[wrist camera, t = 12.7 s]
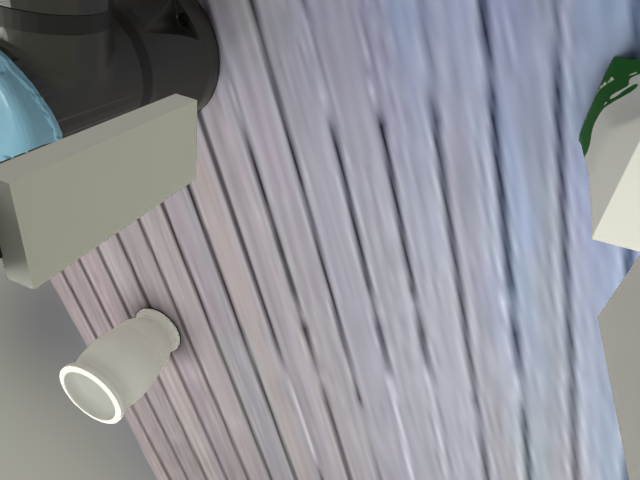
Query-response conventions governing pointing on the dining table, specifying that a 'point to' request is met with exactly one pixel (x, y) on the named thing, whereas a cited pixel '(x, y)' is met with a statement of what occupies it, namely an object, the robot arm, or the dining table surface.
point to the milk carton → (615, 155)
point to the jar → (120, 365)
